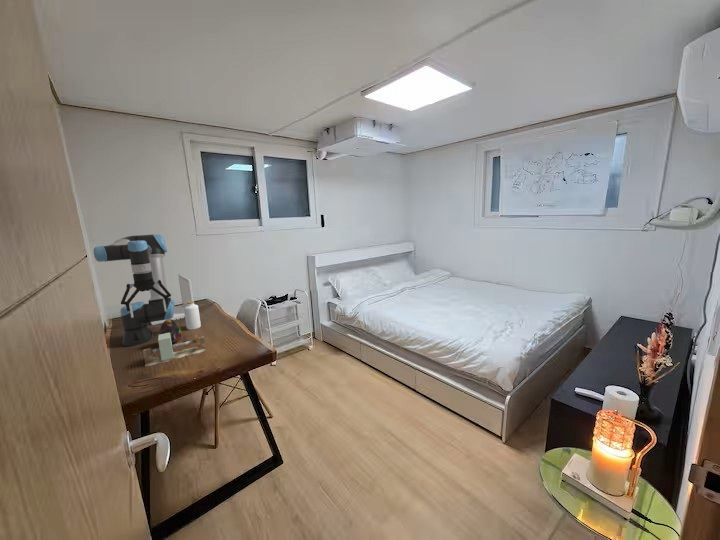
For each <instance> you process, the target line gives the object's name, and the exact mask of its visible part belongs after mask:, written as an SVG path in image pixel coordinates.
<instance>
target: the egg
mask: <svg viewBox="0 0 720 540" xmlns="http://www.w3.org/2000/svg"><path fill="white" fill-rule="evenodd" d="M165 333H170V336H171V342H172V345H174V344H179V343H180V340H181V339H182V336H183V332H182V328H181V327H180V325H179V324H178V322H176V320H172V319H167V320H165V321H164V322H163V323H161V325H160V329H159V335H160V334H165Z"/></svg>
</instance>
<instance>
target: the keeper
mask: <svg viewBox="0 0 720 540" xmlns="http://www.w3.org/2000/svg"><path fill="white" fill-rule="evenodd" d="M157 341H158V348H160V351H159V355H161V359H162V361H163V360H167V359H171V358H173V352H174V350H173V349H174V348H172V342H171V336H170V333H165V334H160V333H159V334H158V339H157Z"/></svg>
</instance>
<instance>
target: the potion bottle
mask: <svg viewBox="0 0 720 540" xmlns="http://www.w3.org/2000/svg"><path fill="white" fill-rule="evenodd" d="M184 314H185V318H184V319H185V326H186V329H187V330H190V331H191V330H192V331H193V330H197V329H199V328H201V326H202V324H201V323H202V322H201V318H200V310H199V305H198V304H195V300H194V301H190V302H187V306H185V307H184Z"/></svg>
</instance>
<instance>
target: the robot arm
mask: <svg viewBox="0 0 720 540" xmlns="http://www.w3.org/2000/svg"><path fill="white" fill-rule="evenodd" d="M167 252H168V249H167V245H166V242H165V239H164V237H163V235H161V234H154V233H153V234H143V235H142V234H140V235H130V236H129V235H128V236H125V237H121V238H119V239H116V240H115V241H114V242H113V243H110V244H109V245H100V246H95V247H94V248H93V256H94V259H95V261H97V262H100V263H101V262H105V263H106V262H115V261H126V260H127V261H128V260H129V261H130V266H131V271H132V272H131V273H133V274H132V278H133V283H126V289H125V291H124V293H123V296H122V299H121V301H120V304H121V305H124V306H122V307H121V308H120V317H121V323H122V327H123V336H122V340H121V342H122V346H125V347H132V346H133V347H134V346H138V345H142V344H146V343H148V342H149V341H151V340H153V339H154V333H153V332H152V330H151V329H150V327H149V324H148V323H151V322H155V321H161V320H166V319H171V318H172V317H173V316H174V306H175V300H174V299H171V298H172V294H171V293H170V291H168V289H167V283H166V276H165V265H164V259H163V258H164V257H165V256H166V253H167ZM133 287H134V288H135V289H134V292H133V293H132V294H131V295H130V297H129V298H128V299H127V297H128V296H129V292H130V289H133ZM145 291H149V294H150V297H149V299H148V302H147V303H145V302H144V301H136V302H133V303H132V301H133V299H134V298H135V297H136V296H137V294H138V293H139V292H142V293H143V292H145Z"/></svg>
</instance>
